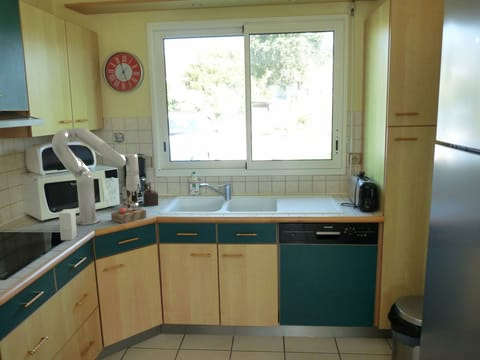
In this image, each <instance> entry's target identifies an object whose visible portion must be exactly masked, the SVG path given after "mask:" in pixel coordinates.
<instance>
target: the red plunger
mask: <svg viewBox="0 0 480 360" xmlns="http://www.w3.org/2000/svg"><path fill="white" fill-rule="evenodd" d="M117 210H118V212H120V213H121V214H123V213H124V212H126V208H123V207H119V208H118V209H117Z"/></svg>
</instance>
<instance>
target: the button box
mask: <svg viewBox="0 0 480 360" xmlns="http://www.w3.org/2000/svg"><path fill="white" fill-rule="evenodd" d="M136 209H137V211H133V208H131V209H126V212H124V213H123V214H121V213H120V212H118V211H113V212H110V214H111V221H113V222H115V223H118V224H121V225H122V224H126V223H130V222H135V221H139V220H143V219H147V210H145V209H142V208H139V207H138V208H136Z"/></svg>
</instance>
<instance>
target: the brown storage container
mask: <svg viewBox="0 0 480 360" xmlns="http://www.w3.org/2000/svg"><path fill="white" fill-rule="evenodd" d="M142 185H143V189H144V190H143V191H142V192H141V198H142V205H143V206H144V207H156V206H159V193H158V192H157V190H153V189H152V186H151V182H144V183H143V184H142Z"/></svg>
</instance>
